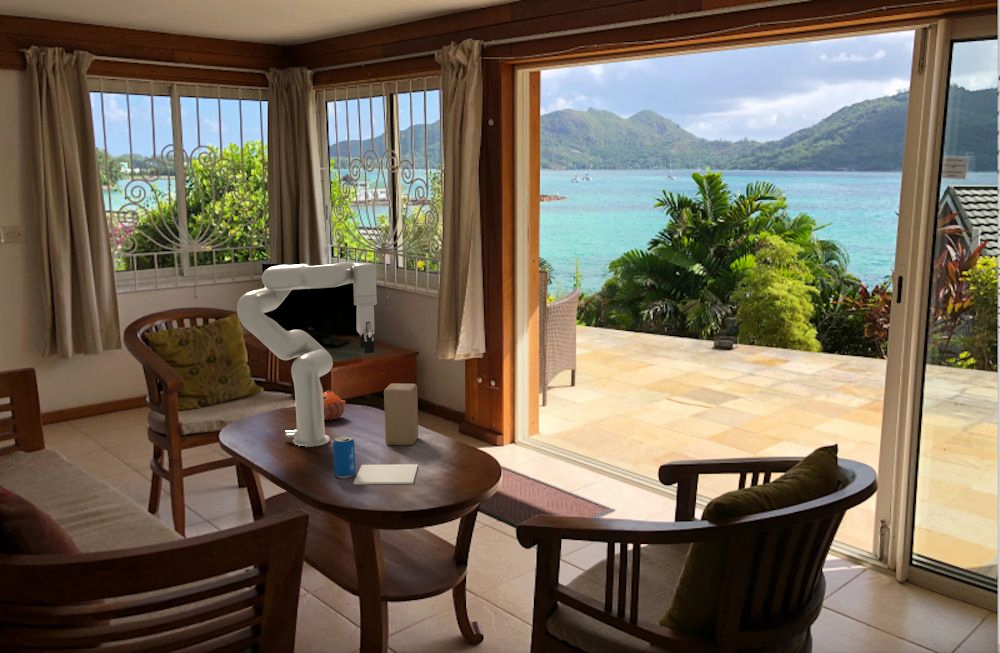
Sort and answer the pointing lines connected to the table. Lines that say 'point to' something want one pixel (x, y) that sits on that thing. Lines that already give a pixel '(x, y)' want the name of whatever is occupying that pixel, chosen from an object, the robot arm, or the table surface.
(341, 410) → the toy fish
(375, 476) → the mat
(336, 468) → the beverage can
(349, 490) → the table surface
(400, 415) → the wooden block
